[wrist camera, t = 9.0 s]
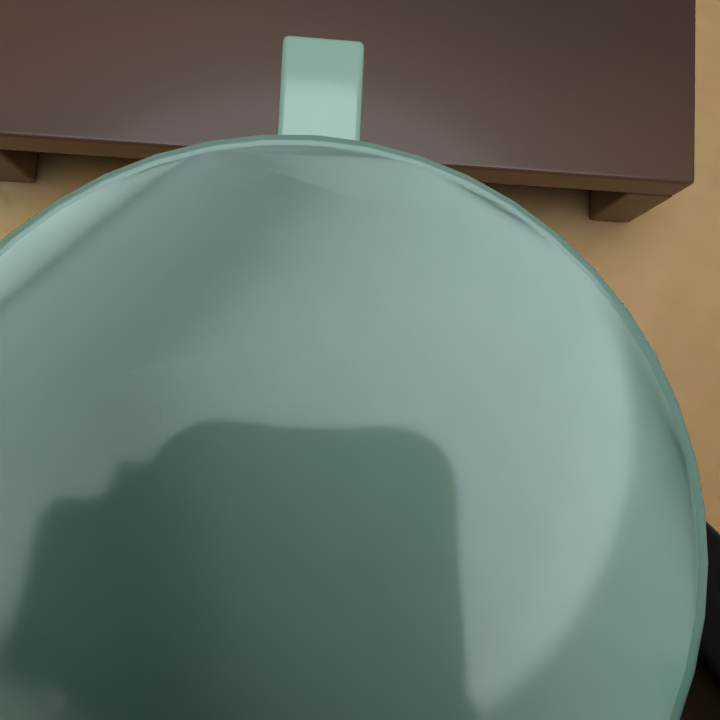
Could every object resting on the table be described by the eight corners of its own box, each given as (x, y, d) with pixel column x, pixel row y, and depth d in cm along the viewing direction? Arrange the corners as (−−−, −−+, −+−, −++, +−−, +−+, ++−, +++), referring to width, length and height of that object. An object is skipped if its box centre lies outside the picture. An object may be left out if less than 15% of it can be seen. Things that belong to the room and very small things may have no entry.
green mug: (446, 614, 13) (712, 1012, 4) (147, 607, 13) (-214, 1028, 4) (458, 229, 14) (713, -92, 5) (174, 211, 14) (-84, -172, 5)
